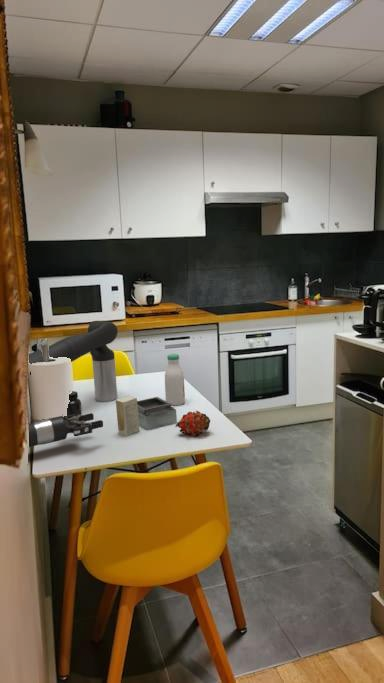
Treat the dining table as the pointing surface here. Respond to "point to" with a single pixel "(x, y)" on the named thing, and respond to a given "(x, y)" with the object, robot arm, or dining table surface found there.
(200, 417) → the dragon fruit
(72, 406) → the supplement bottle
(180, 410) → the dining table surface
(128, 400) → the skincare box
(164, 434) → the dining table surface
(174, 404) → the milk bottle
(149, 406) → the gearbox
